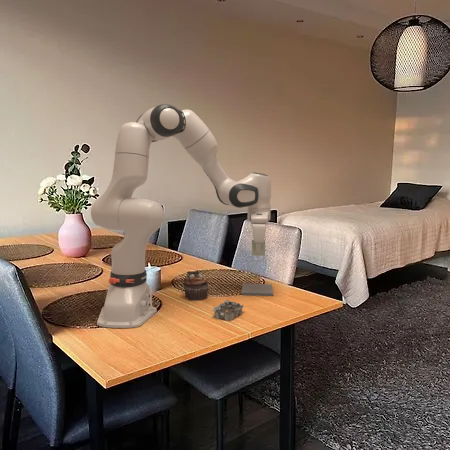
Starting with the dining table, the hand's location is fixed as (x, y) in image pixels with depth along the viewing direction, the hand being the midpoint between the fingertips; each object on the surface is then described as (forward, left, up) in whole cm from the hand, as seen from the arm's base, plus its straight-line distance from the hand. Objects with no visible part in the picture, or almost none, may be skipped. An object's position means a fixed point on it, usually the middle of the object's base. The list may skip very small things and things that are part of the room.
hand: (258, 250), depth 179 cm
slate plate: (0, 0, -16) cm, 16 cm away
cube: (0, 0, -2) cm, 2 cm away
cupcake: (-10, +23, -17) cm, 30 cm away
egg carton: (-28, +10, -17) cm, 34 cm away
